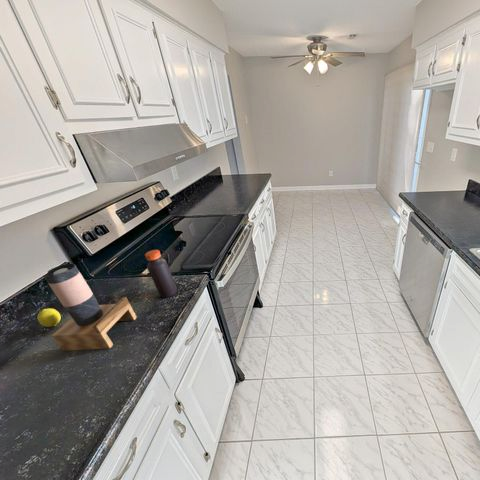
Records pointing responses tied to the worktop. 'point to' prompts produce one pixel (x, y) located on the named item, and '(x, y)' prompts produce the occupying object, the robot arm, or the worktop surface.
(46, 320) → the lemon
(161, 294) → the bottle
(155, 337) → the worktop surface
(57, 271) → the travel mug
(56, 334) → the shelf
